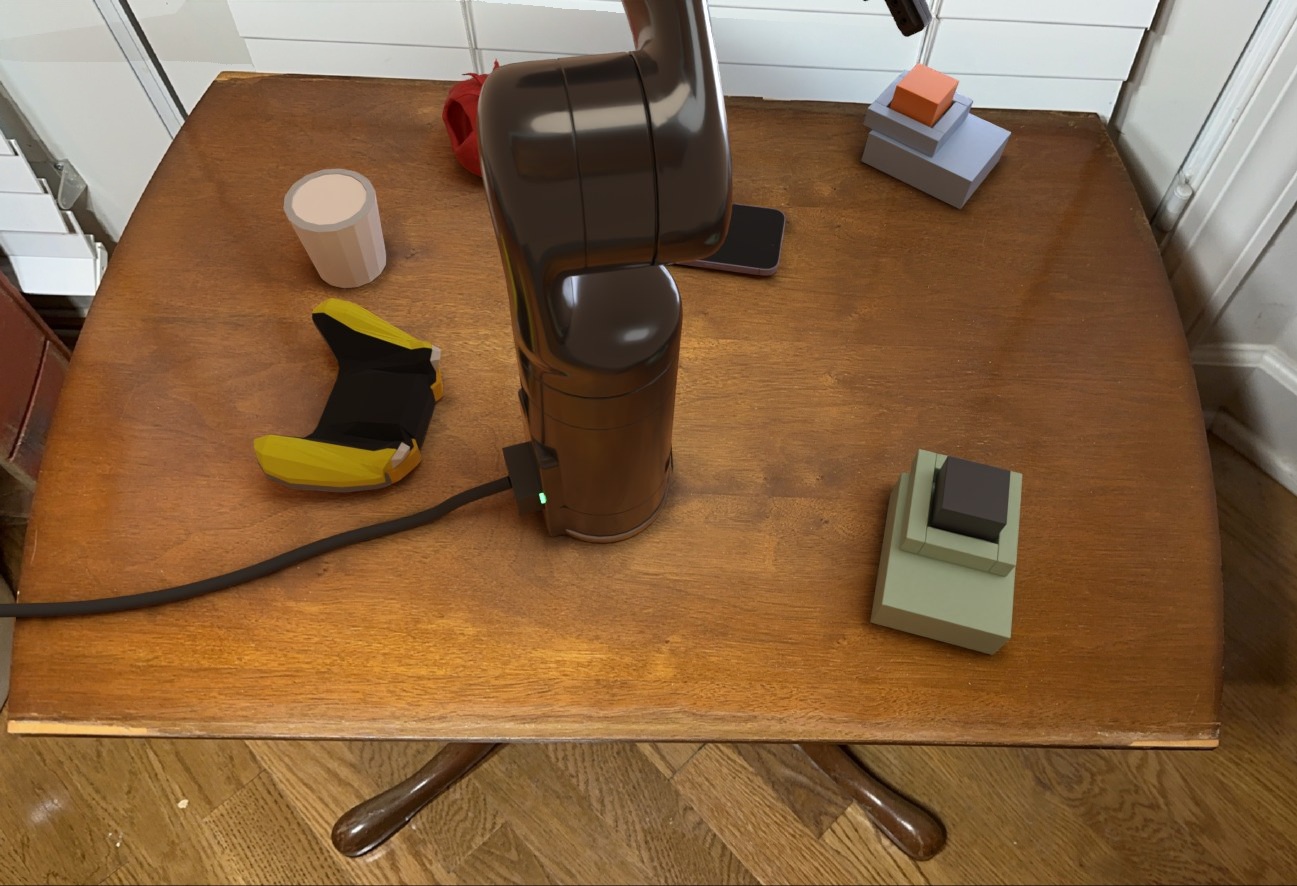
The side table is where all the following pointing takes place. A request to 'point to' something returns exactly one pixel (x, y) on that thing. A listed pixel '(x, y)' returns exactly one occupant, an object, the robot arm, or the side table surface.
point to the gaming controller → (361, 408)
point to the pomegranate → (465, 119)
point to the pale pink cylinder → (338, 225)
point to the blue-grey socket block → (933, 147)
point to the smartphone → (749, 242)
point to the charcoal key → (971, 498)
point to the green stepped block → (944, 568)
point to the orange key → (924, 94)
